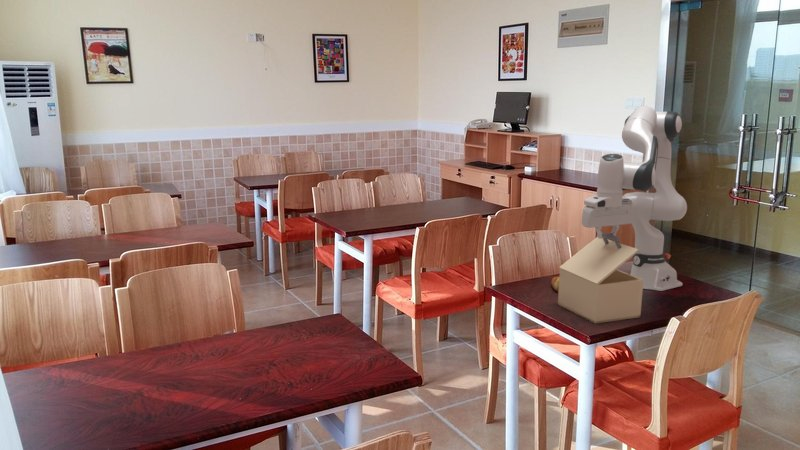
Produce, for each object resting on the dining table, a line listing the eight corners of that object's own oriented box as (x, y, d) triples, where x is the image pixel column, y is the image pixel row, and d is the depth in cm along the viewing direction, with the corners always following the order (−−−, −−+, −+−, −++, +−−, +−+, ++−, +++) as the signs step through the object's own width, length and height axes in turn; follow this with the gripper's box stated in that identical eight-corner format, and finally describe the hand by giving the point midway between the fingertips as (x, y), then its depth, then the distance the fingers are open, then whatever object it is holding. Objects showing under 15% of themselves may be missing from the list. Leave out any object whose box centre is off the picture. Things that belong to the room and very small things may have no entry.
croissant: (585, 307, 257) (595, 289, 256) (566, 297, 253) (576, 279, 253) (557, 290, 277) (566, 273, 276) (539, 281, 273) (548, 264, 272)
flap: (598, 237, 250) (593, 225, 248) (639, 251, 230) (633, 238, 228) (559, 268, 246) (553, 256, 244) (597, 285, 226) (591, 272, 224)
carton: (600, 298, 256) (603, 264, 253) (640, 317, 236) (643, 279, 233) (557, 304, 249) (560, 268, 246) (594, 323, 229) (597, 285, 226)
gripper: (626, 196, 241) (623, 233, 244) (580, 200, 234) (578, 238, 237) (638, 199, 235) (635, 236, 238) (591, 203, 228) (589, 242, 231)
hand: (606, 237), depth 237 cm, fingers open, 4 cm apart
